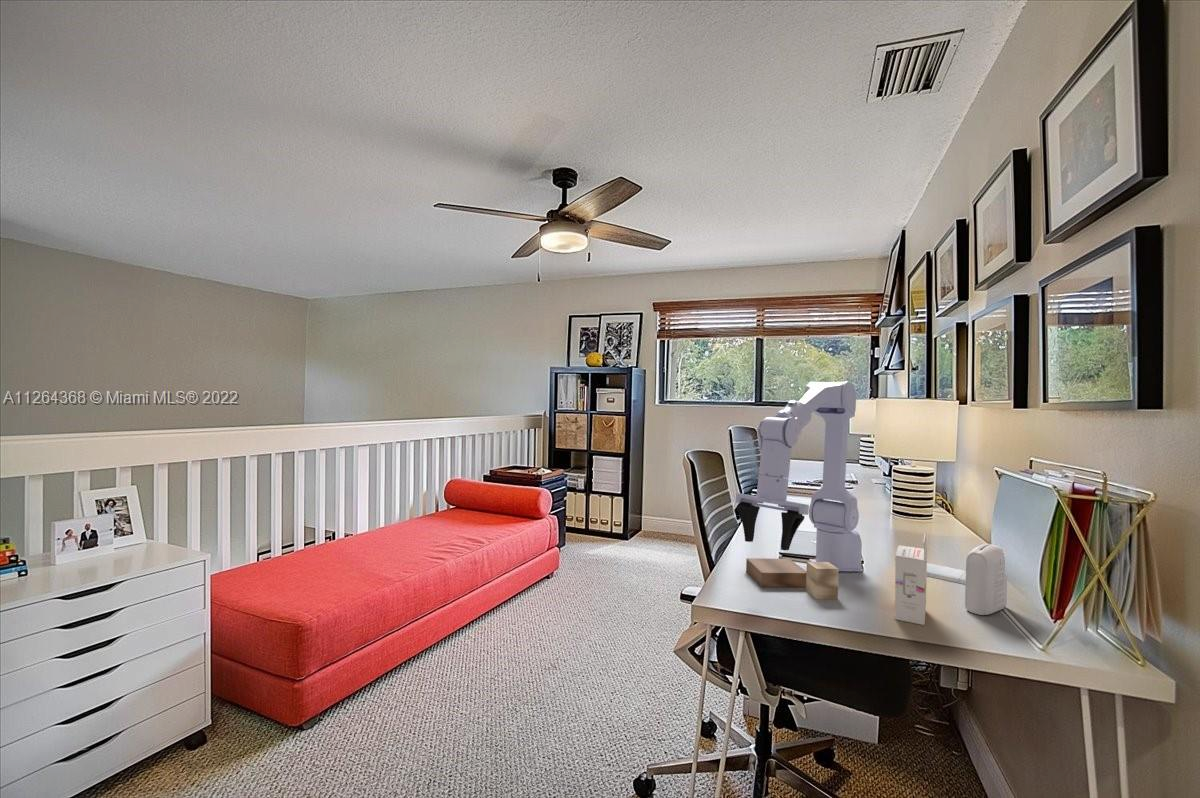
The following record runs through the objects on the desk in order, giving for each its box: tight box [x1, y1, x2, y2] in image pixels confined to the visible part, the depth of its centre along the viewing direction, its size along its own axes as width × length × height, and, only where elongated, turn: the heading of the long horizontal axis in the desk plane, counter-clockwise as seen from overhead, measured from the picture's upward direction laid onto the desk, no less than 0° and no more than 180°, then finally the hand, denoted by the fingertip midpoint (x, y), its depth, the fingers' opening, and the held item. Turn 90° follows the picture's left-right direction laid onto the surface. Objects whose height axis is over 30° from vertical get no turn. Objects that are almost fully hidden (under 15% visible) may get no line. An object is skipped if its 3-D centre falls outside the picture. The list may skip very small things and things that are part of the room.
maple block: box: [805, 561, 840, 600], centre depth 108 cm, size 4×4×6 cm
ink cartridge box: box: [894, 533, 928, 626], centre depth 99 cm, size 9×5×15 cm, turn 148°
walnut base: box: [745, 557, 807, 588], centre depth 117 cm, size 10×10×3 cm
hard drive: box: [927, 562, 966, 585], centre depth 124 cm, size 2×8×12 cm
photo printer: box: [964, 543, 1008, 616], centre depth 103 cm, size 10×4×12 cm, turn 123°
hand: (766, 545), depth 105 cm, fingers open, 7 cm apart
